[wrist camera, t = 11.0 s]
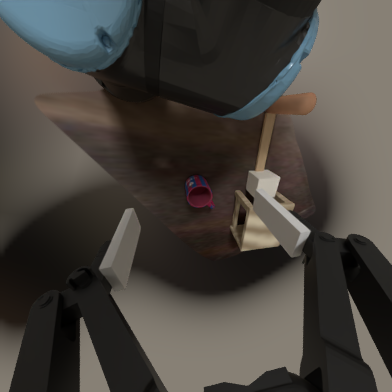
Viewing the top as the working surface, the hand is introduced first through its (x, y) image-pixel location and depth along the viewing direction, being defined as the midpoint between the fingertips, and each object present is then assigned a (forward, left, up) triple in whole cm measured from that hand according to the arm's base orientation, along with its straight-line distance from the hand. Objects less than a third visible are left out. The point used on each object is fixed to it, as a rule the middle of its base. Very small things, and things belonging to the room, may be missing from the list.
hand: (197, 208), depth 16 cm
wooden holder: (+21, +22, -26) cm, 40 cm away
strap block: (+1, +22, -26) cm, 34 cm away
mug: (+11, +4, -26) cm, 29 cm away
